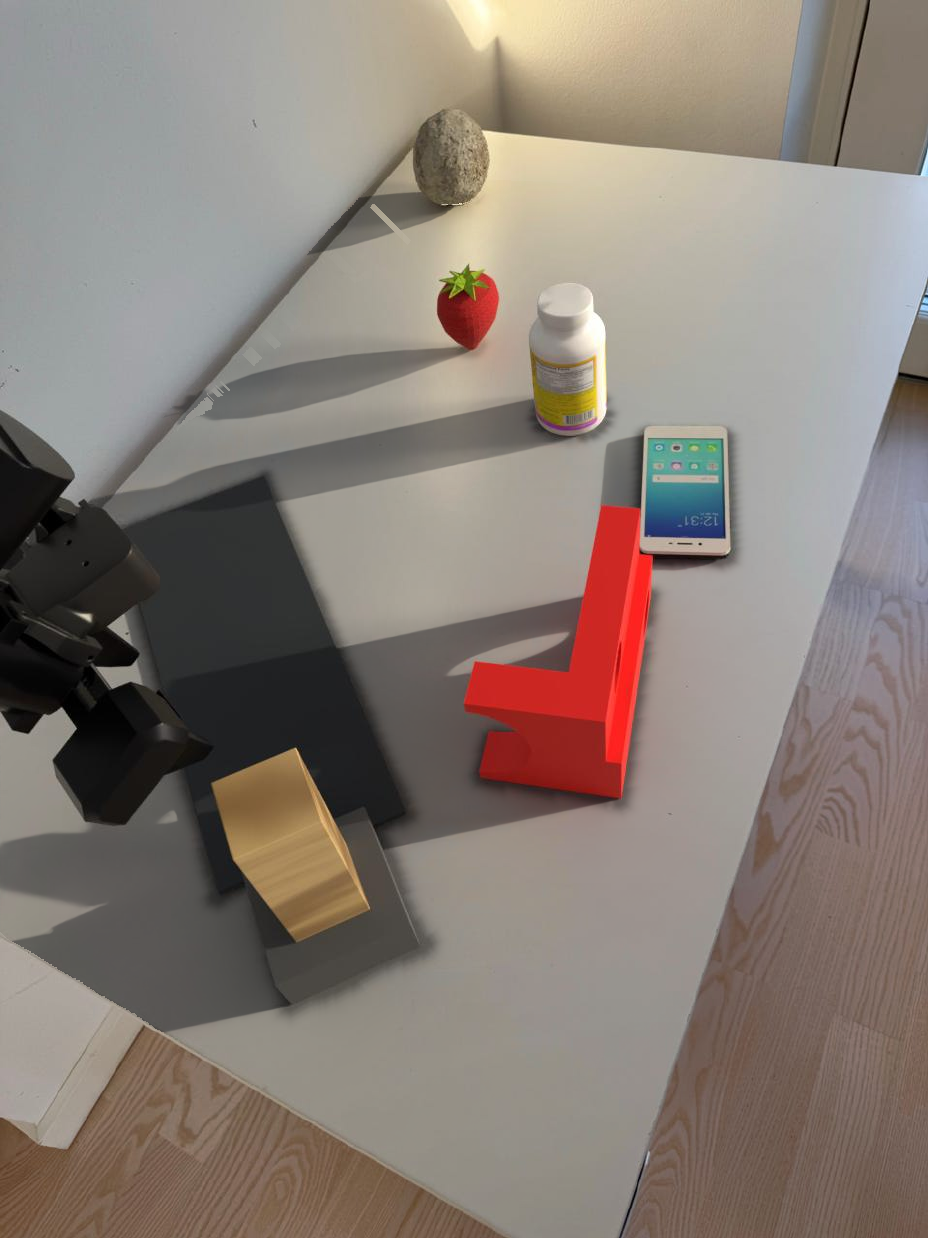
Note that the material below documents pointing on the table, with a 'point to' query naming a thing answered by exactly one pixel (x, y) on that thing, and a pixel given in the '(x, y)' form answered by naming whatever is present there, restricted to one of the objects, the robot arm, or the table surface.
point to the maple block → (289, 845)
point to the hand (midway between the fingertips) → (170, 703)
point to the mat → (253, 660)
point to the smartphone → (685, 493)
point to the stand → (340, 924)
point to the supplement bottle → (568, 361)
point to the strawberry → (467, 306)
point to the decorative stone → (450, 157)
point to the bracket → (576, 680)
